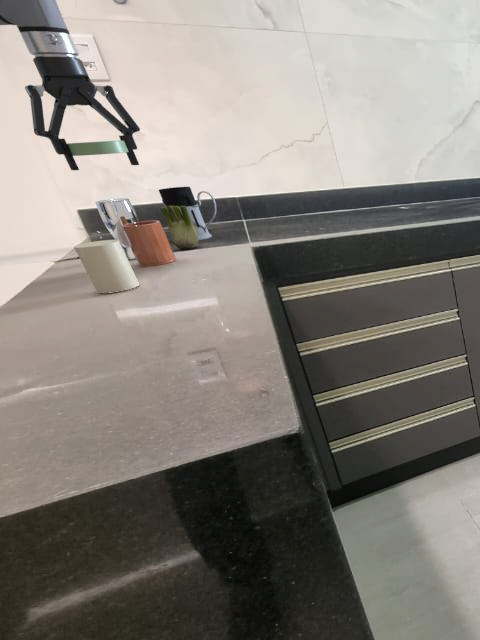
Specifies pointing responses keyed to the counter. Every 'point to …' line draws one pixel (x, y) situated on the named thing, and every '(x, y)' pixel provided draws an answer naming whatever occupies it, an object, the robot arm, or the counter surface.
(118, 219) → the beer glass
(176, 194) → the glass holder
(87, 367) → the counter surface
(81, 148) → the lid
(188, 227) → the fennel bulb
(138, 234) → the cup
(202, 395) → the counter surface
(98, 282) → the can
